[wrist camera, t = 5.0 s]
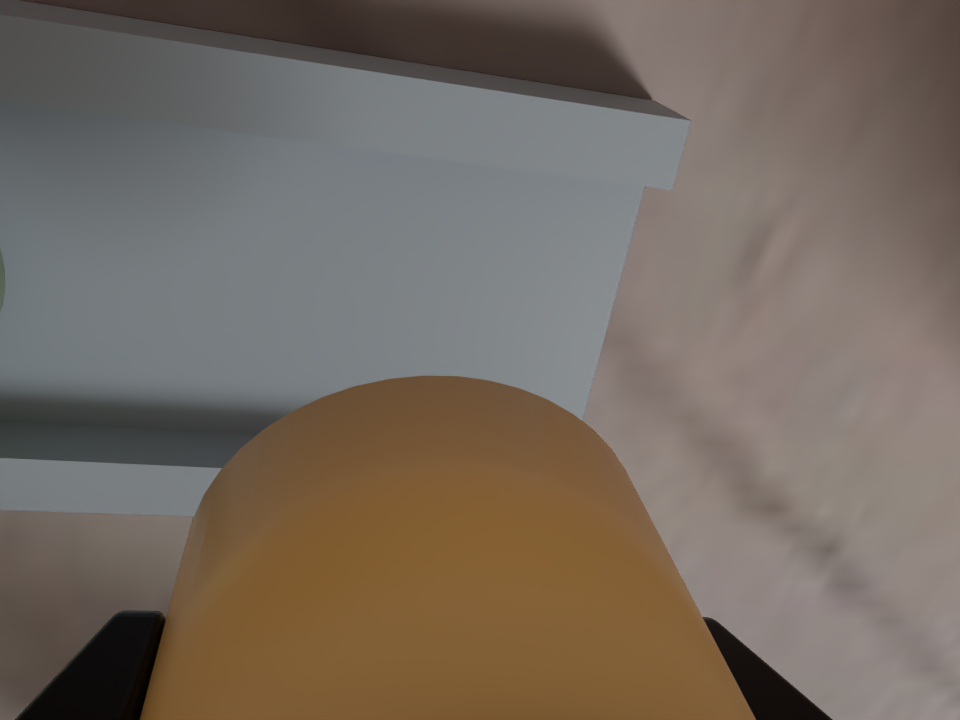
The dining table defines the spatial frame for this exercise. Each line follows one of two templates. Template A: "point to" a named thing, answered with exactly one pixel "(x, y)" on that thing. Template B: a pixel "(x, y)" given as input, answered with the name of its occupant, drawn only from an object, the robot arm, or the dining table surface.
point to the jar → (432, 573)
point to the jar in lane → (2, 281)
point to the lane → (282, 242)
